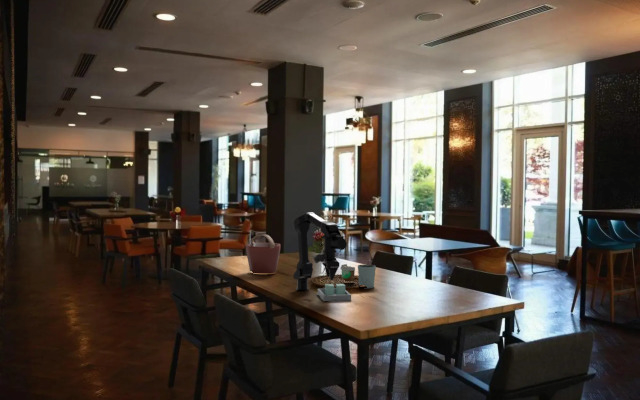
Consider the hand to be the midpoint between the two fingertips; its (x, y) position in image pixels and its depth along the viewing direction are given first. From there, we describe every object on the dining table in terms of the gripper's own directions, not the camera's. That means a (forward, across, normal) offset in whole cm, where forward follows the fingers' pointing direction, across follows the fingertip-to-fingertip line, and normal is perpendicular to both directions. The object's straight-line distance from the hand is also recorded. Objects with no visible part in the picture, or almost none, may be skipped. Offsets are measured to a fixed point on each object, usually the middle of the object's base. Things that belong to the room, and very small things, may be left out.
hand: (329, 278), depth 260 cm
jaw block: (+10, 0, 0) cm, 10 cm away
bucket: (+10, -78, -28) cm, 84 cm away
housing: (+10, 0, +2) cm, 10 cm away
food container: (+10, -37, +17) cm, 42 cm away
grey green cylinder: (+10, -24, +26) cm, 37 cm away
